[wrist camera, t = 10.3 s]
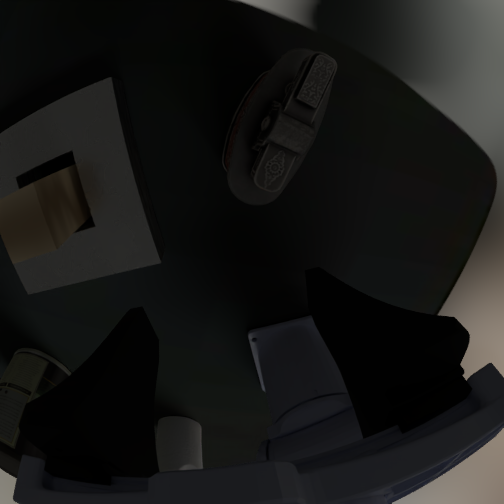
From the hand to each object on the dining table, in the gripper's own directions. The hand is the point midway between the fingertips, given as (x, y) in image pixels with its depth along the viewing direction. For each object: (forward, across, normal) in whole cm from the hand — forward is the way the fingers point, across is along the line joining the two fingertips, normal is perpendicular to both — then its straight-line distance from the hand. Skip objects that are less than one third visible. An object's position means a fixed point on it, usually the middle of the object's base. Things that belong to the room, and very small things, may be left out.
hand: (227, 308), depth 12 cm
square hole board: (+10, +11, -6) cm, 16 cm away
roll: (+10, +12, +26) cm, 30 cm away
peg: (+11, +11, -5) cm, 16 cm away
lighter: (+11, -4, -7) cm, 13 cm away
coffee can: (+10, +26, +14) cm, 31 cm away
